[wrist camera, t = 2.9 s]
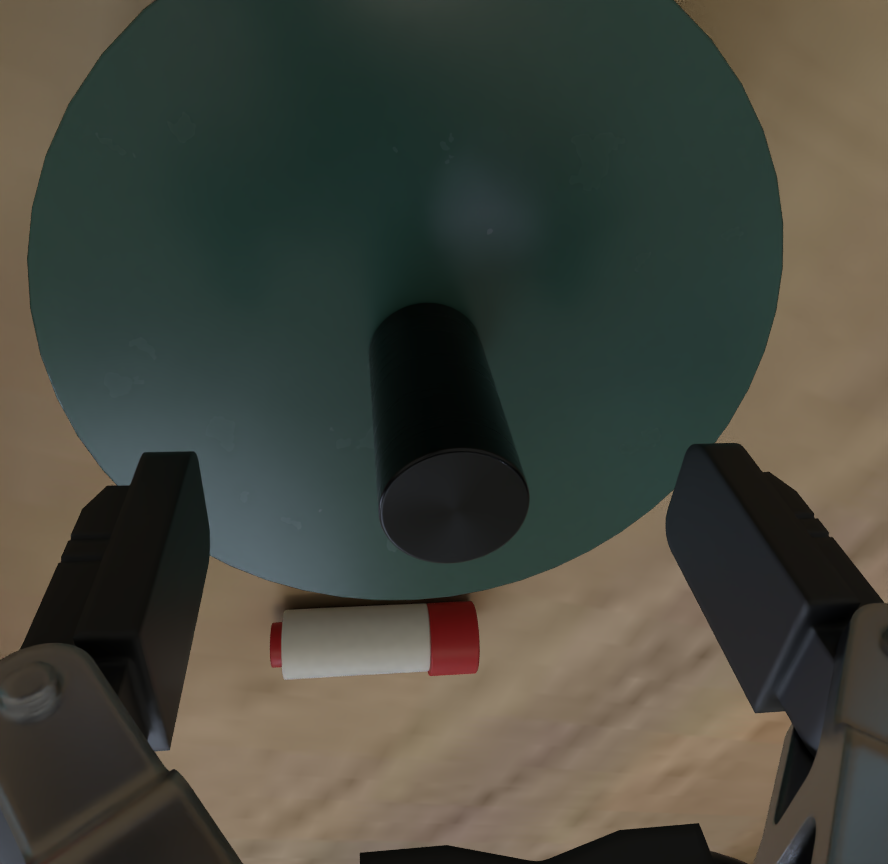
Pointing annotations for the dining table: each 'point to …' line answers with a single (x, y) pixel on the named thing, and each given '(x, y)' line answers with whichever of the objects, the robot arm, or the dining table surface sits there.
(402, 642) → the red and white gluestick
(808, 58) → the dining table surface
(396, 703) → the dining table surface
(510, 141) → the lid
